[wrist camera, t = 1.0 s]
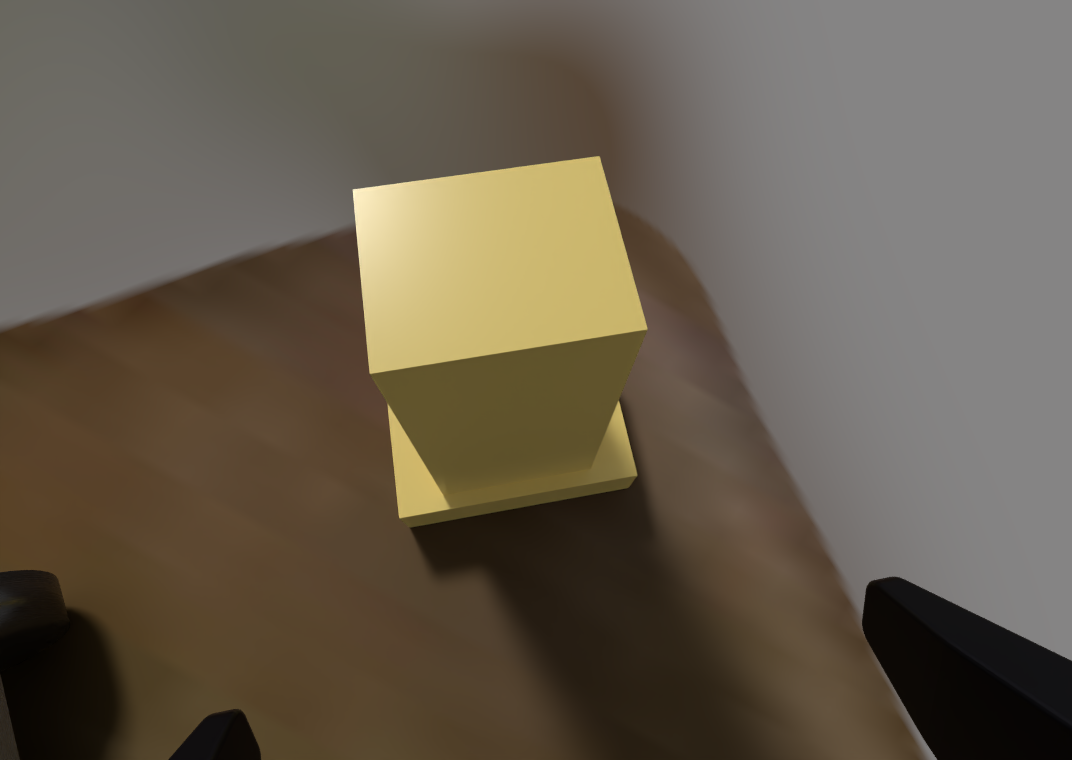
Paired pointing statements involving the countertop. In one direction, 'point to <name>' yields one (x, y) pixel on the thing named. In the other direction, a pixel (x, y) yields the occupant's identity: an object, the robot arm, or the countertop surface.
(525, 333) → the yellow block on base
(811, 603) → the countertop surface
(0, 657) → the trolley
